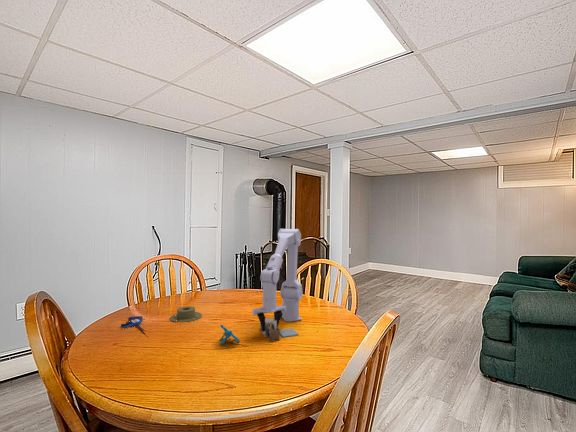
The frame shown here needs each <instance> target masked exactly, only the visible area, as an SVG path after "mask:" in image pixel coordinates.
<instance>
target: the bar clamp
mask: <svg viewBox="0 0 576 432" xmlns="http://www.w3.org/2000/svg"><path fill="white" fill-rule="evenodd" d="M127 318H128V320H127V321H128V322H126V323H121V324H120V327H121V326H122V327H121V329H122V328H127V327H130V328H132V327H131V326H135V327H137V328H138V330H140V331H141V332H142V333H143V334H144V332H143V331H145V330H144V329H143V328H142V327H141V324H142V323H143V322H142V321H143V316H140V315H138V316H137V315H134V316H129V317H127ZM129 321H130V322H129ZM141 322H142V323H141ZM140 323H141V324H140ZM139 324H140V325H139ZM127 329H128V328H127Z"/></svg>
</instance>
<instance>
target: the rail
mask: <svg viewBox="0 0 576 432" xmlns="http://www.w3.org/2000/svg"><path fill="white" fill-rule="evenodd" d="M259 324H260V329H259V330H261V331H262V328H261V323H260V322H259ZM280 330H281V329H279V328H278V329H272V325H271V324H268V341H269V342H276V341H280V340H281V338H280V337H281V335H280Z"/></svg>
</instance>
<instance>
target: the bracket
mask: <svg viewBox="0 0 576 432" xmlns="http://www.w3.org/2000/svg"><path fill="white" fill-rule="evenodd" d="M268 324H270V325H271V327H272V329H277V320H276V319H275V318H274V317H265V331H264V332H263V331H262V335H264V337H265V338H266V337H267V338H269V335H268Z"/></svg>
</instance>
